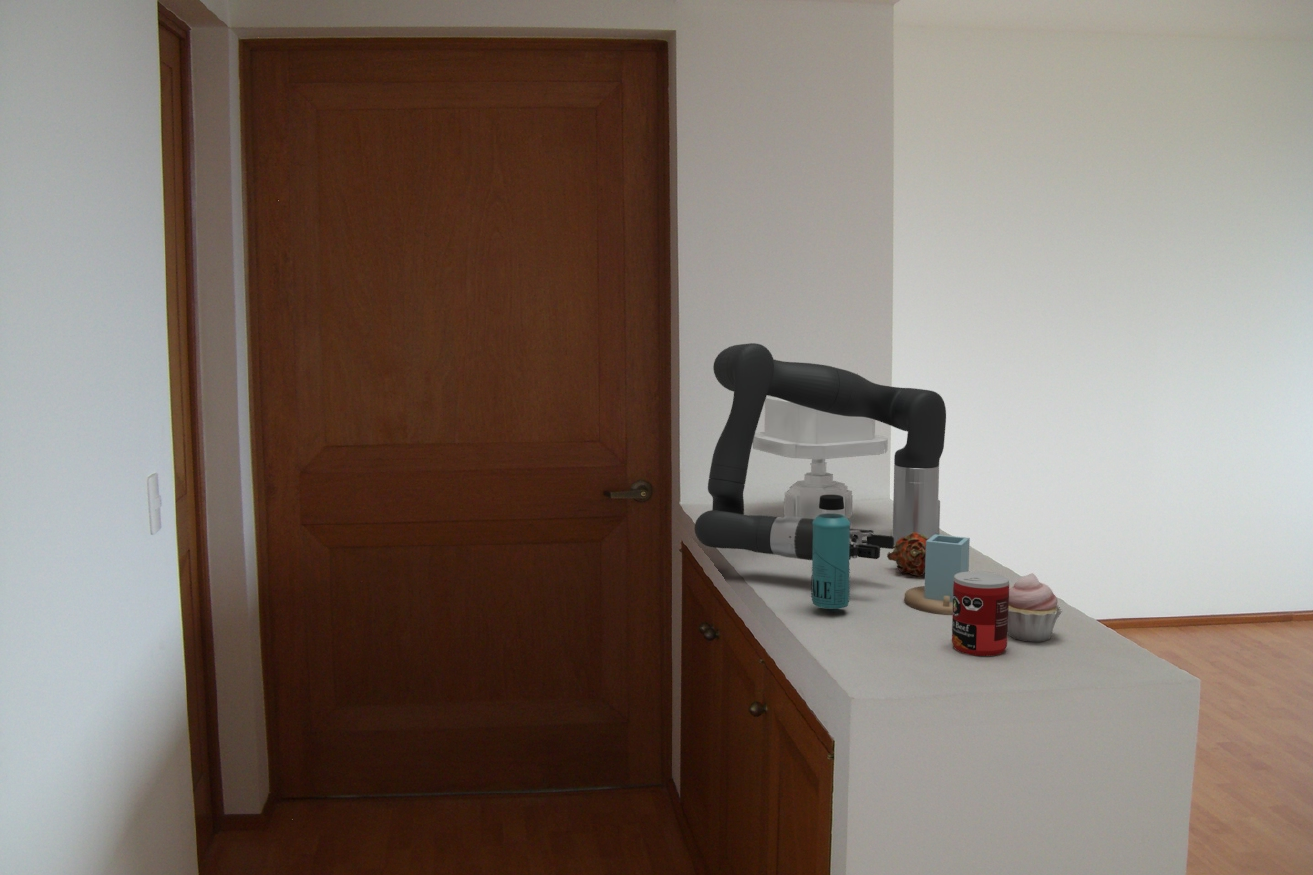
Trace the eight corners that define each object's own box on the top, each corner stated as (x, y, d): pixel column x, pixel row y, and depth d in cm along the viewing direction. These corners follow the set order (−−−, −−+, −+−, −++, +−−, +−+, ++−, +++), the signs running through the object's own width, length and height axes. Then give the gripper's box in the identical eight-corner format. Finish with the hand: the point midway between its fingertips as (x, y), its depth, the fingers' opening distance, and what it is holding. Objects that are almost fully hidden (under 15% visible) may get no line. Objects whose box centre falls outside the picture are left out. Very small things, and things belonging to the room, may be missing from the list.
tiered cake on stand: (740, 517, 257) (740, 371, 253) (833, 507, 269) (835, 368, 264) (800, 539, 233) (802, 379, 229) (899, 527, 245) (903, 374, 240)
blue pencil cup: (933, 589, 189) (934, 534, 187) (967, 594, 186) (969, 537, 185) (924, 598, 184) (925, 541, 182) (959, 602, 181) (961, 544, 179)
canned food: (944, 641, 165) (946, 571, 163) (994, 639, 165) (997, 570, 164) (962, 657, 157) (964, 584, 156) (1015, 656, 158) (1018, 583, 156)
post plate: (934, 587, 195) (936, 546, 194) (1004, 603, 184) (1006, 560, 183) (888, 602, 186) (889, 559, 185) (958, 620, 175) (960, 574, 174)
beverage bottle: (852, 608, 182) (854, 492, 179) (846, 619, 176) (848, 499, 173) (814, 605, 184) (816, 490, 182) (806, 616, 178) (808, 497, 175)
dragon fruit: (922, 590, 199) (900, 582, 211) (957, 561, 200) (933, 556, 212) (895, 554, 198) (874, 548, 210) (930, 525, 199) (907, 522, 211)
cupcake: (1074, 638, 165) (1077, 575, 164) (1034, 649, 161) (1036, 584, 159) (1024, 623, 173) (1027, 563, 172) (985, 633, 168) (987, 571, 167)
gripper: (785, 525, 190) (875, 534, 182) (813, 511, 202) (898, 519, 195) (785, 566, 191) (874, 577, 183) (813, 550, 203) (897, 559, 196)
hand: (886, 547), depth 189 cm, fingers open, 8 cm apart
